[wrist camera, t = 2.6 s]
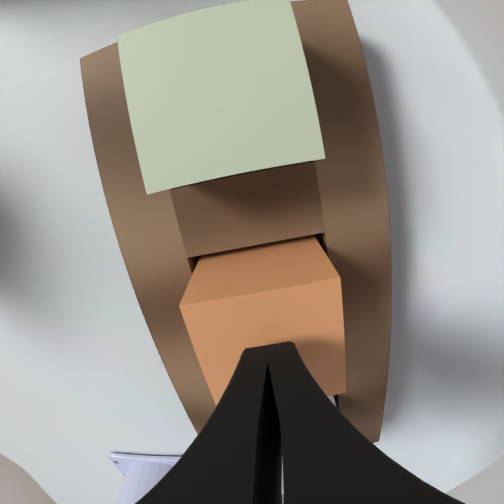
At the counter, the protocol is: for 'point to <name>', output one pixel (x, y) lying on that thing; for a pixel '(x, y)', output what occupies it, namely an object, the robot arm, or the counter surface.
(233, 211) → the brown flat rectangular tray
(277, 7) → the pale green cube
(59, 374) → the counter surface
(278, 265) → the orange cube
